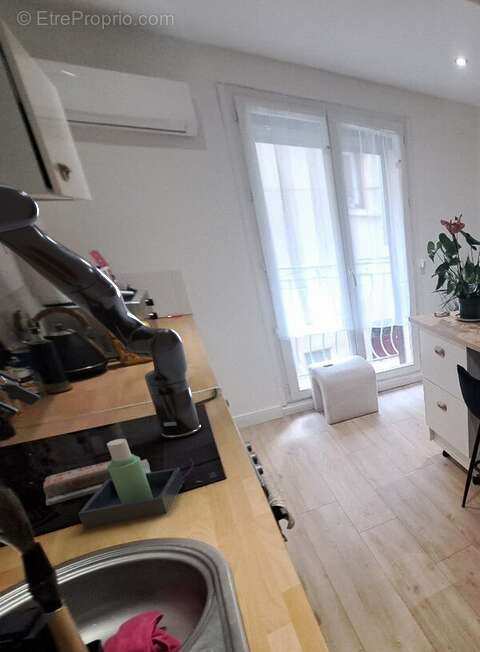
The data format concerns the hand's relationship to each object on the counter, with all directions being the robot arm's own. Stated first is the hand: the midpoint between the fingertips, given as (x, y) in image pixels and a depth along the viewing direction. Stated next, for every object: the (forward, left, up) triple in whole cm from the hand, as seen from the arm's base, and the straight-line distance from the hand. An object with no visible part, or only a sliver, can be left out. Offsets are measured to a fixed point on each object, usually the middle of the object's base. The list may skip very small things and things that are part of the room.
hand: (25, 407), depth 81 cm
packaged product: (-13, +1, -26) cm, 30 cm away
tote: (+1, +12, -26) cm, 29 cm away
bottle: (+1, +12, -26) cm, 28 cm away
